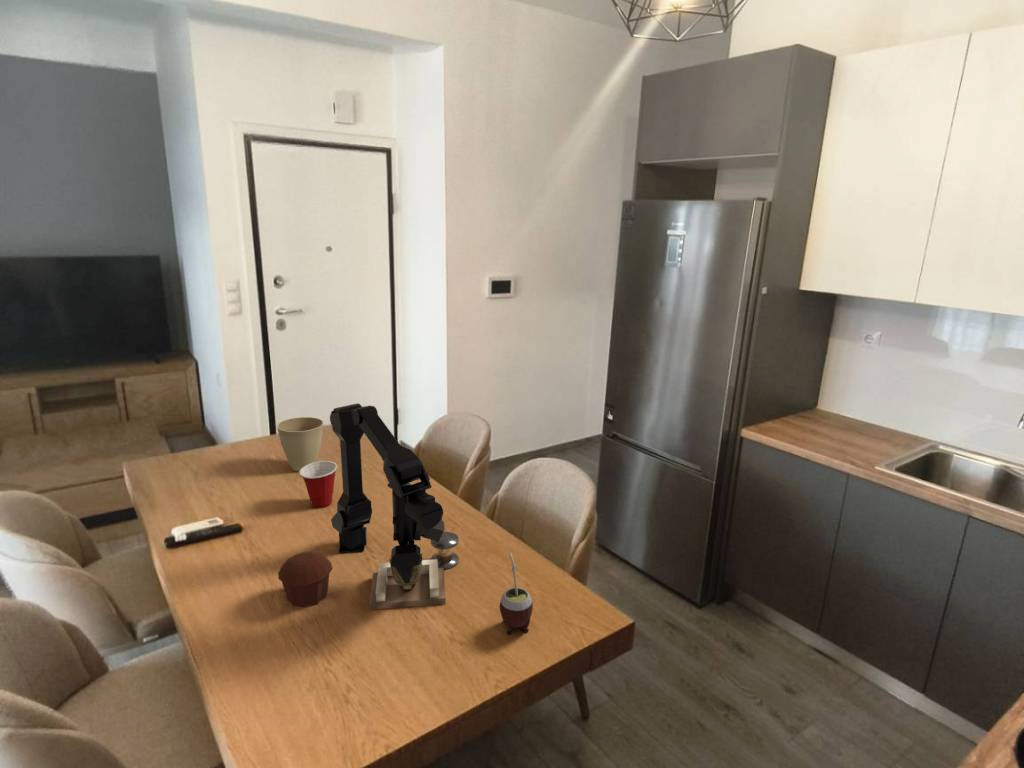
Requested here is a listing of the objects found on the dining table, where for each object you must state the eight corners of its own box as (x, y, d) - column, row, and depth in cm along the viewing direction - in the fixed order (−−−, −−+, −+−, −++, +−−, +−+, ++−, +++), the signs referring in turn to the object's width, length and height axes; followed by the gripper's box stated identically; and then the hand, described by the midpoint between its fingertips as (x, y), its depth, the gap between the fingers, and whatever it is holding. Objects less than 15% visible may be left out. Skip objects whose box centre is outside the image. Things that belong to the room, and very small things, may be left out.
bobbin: (431, 570, 146) (430, 547, 144) (430, 554, 152) (430, 532, 150) (459, 568, 147) (459, 545, 145) (457, 553, 153) (457, 531, 151)
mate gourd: (521, 642, 122) (523, 580, 118) (489, 628, 126) (490, 567, 122) (538, 622, 128) (541, 562, 124) (508, 609, 132) (509, 551, 128)
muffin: (336, 578, 141) (334, 542, 139) (331, 608, 131) (328, 569, 128) (285, 582, 139) (281, 545, 137) (275, 613, 129) (271, 573, 126)
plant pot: (318, 477, 195) (314, 432, 191) (273, 475, 195) (269, 431, 191) (332, 459, 209) (329, 417, 205) (290, 458, 209) (287, 416, 205)
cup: (416, 599, 132) (415, 568, 130) (386, 595, 133) (384, 564, 131) (428, 580, 139) (426, 550, 137) (398, 576, 140) (397, 547, 138)
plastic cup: (297, 501, 178) (294, 465, 175) (331, 492, 184) (329, 457, 181) (309, 516, 170) (306, 478, 167) (345, 506, 176) (342, 469, 173)
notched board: (369, 609, 131) (368, 594, 130) (373, 577, 142) (372, 563, 141) (445, 603, 133) (445, 588, 132) (443, 573, 145) (443, 558, 143)
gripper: (443, 529, 123) (444, 593, 127) (440, 489, 141) (441, 546, 145) (389, 532, 121) (392, 597, 126) (393, 491, 139) (395, 549, 143)
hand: (407, 570), depth 135 cm, fingers open, 9 cm apart
